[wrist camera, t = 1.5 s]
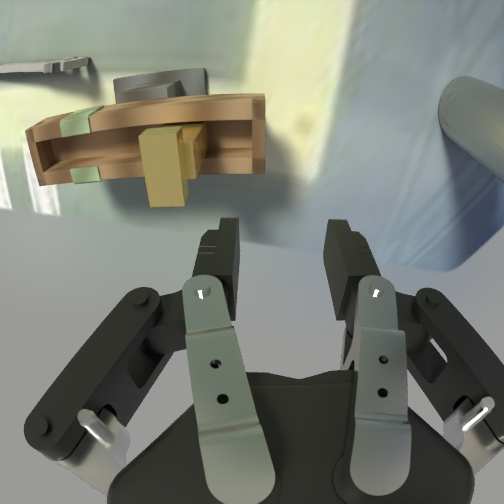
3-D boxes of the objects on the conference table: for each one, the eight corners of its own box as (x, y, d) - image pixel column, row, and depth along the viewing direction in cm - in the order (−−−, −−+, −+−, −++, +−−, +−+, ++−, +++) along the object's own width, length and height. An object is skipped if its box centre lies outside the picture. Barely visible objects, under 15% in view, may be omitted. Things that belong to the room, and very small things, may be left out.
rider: (207, 103, 24) (186, 132, 18) (210, 158, 27) (193, 206, 21) (165, 106, 24) (129, 137, 18) (171, 159, 28) (141, 207, 21)
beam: (263, 66, 29) (265, 77, 21) (262, 154, 35) (264, 196, 27) (71, 88, 29) (19, 111, 21) (85, 163, 35) (44, 204, 27)
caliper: (91, 55, 27) (62, 62, 22) (90, 64, 28) (62, 72, 23) (-23, 67, 25) (-54, 79, 20) (-23, 74, 26) (-53, 86, 21)
